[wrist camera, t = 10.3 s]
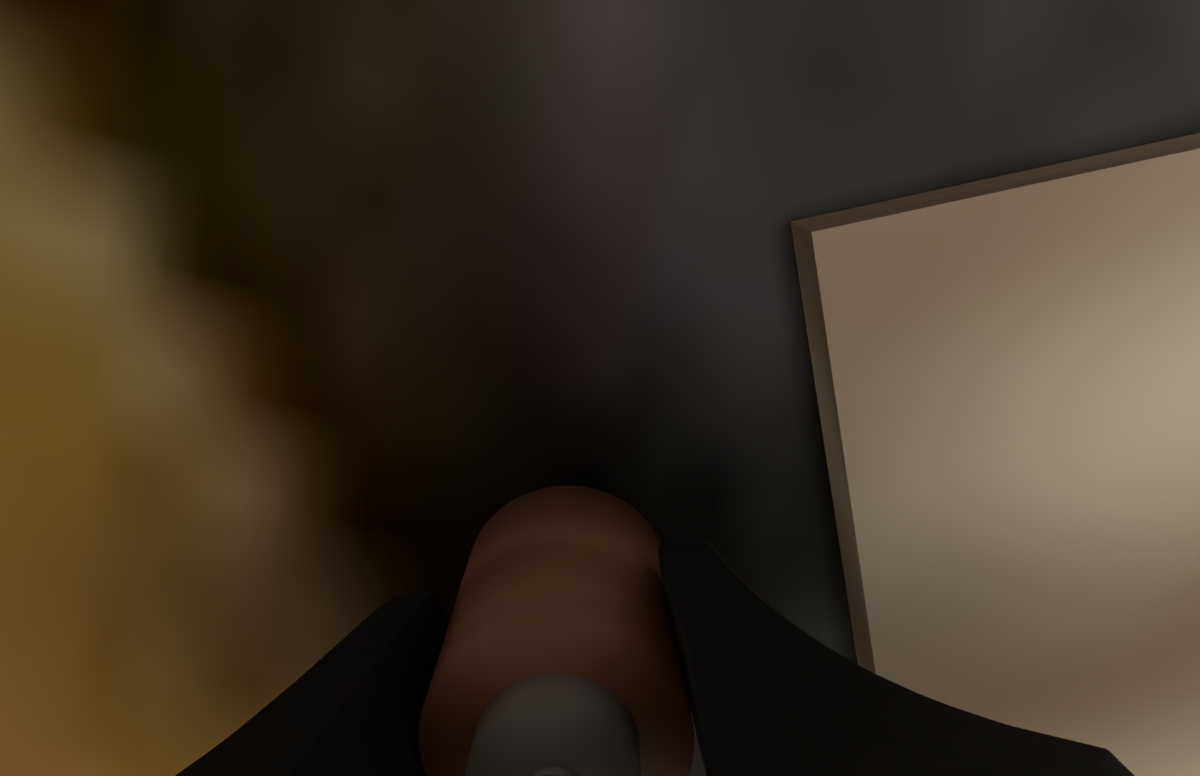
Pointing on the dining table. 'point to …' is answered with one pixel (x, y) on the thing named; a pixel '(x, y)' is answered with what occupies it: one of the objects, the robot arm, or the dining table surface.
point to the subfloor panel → (1023, 443)
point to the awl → (560, 649)
